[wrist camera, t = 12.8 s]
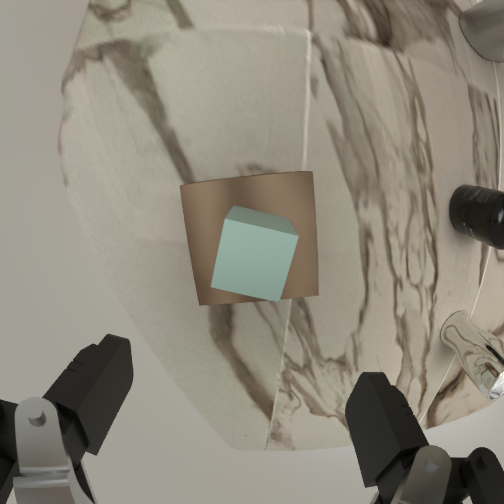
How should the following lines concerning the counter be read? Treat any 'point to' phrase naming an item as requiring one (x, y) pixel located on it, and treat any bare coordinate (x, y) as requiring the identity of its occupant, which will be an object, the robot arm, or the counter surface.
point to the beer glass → (476, 353)
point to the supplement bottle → (479, 214)
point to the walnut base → (261, 199)
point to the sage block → (254, 253)
